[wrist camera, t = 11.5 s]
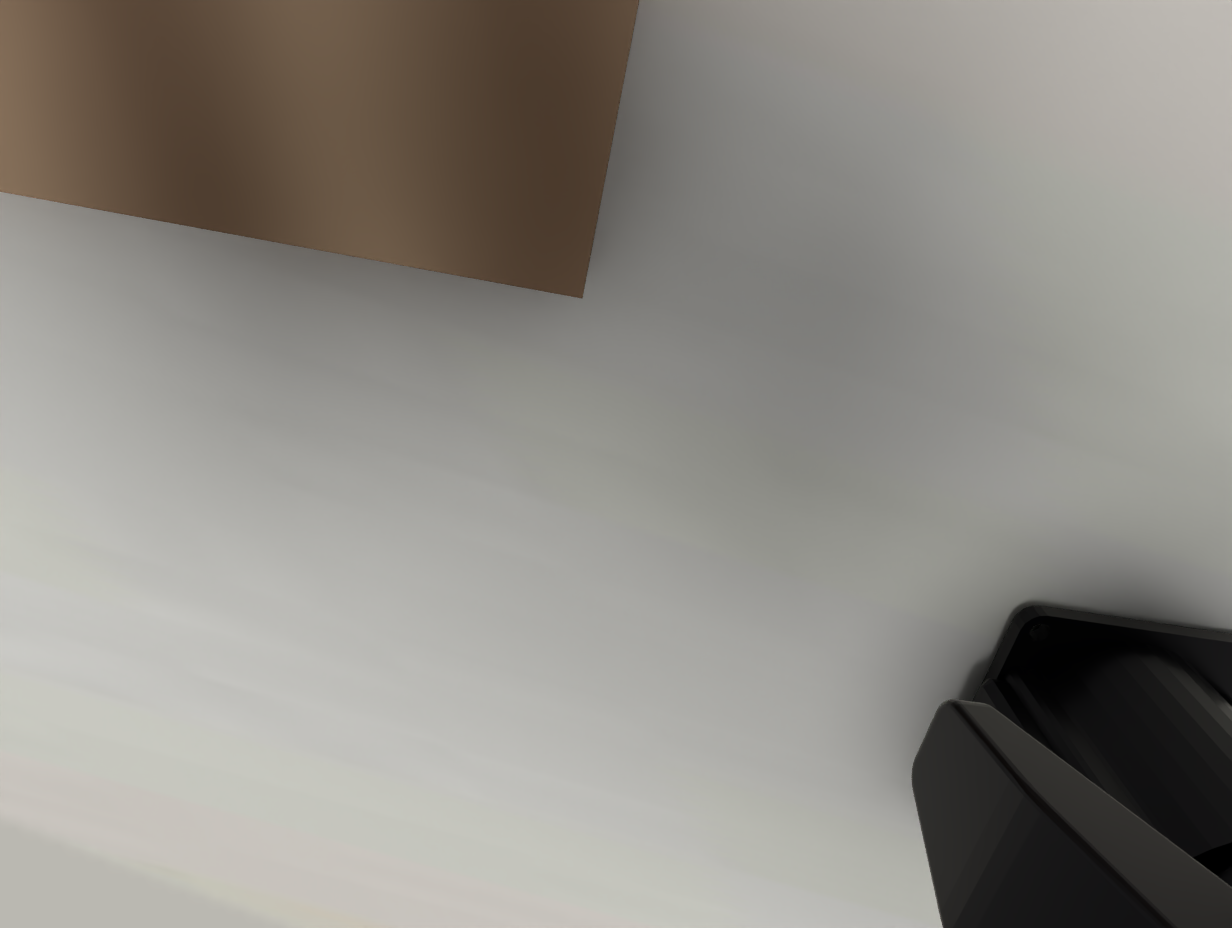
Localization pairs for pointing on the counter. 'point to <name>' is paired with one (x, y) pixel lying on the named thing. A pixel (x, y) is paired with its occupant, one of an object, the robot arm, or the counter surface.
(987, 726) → the robot arm
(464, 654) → the counter surface
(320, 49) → the shelf
